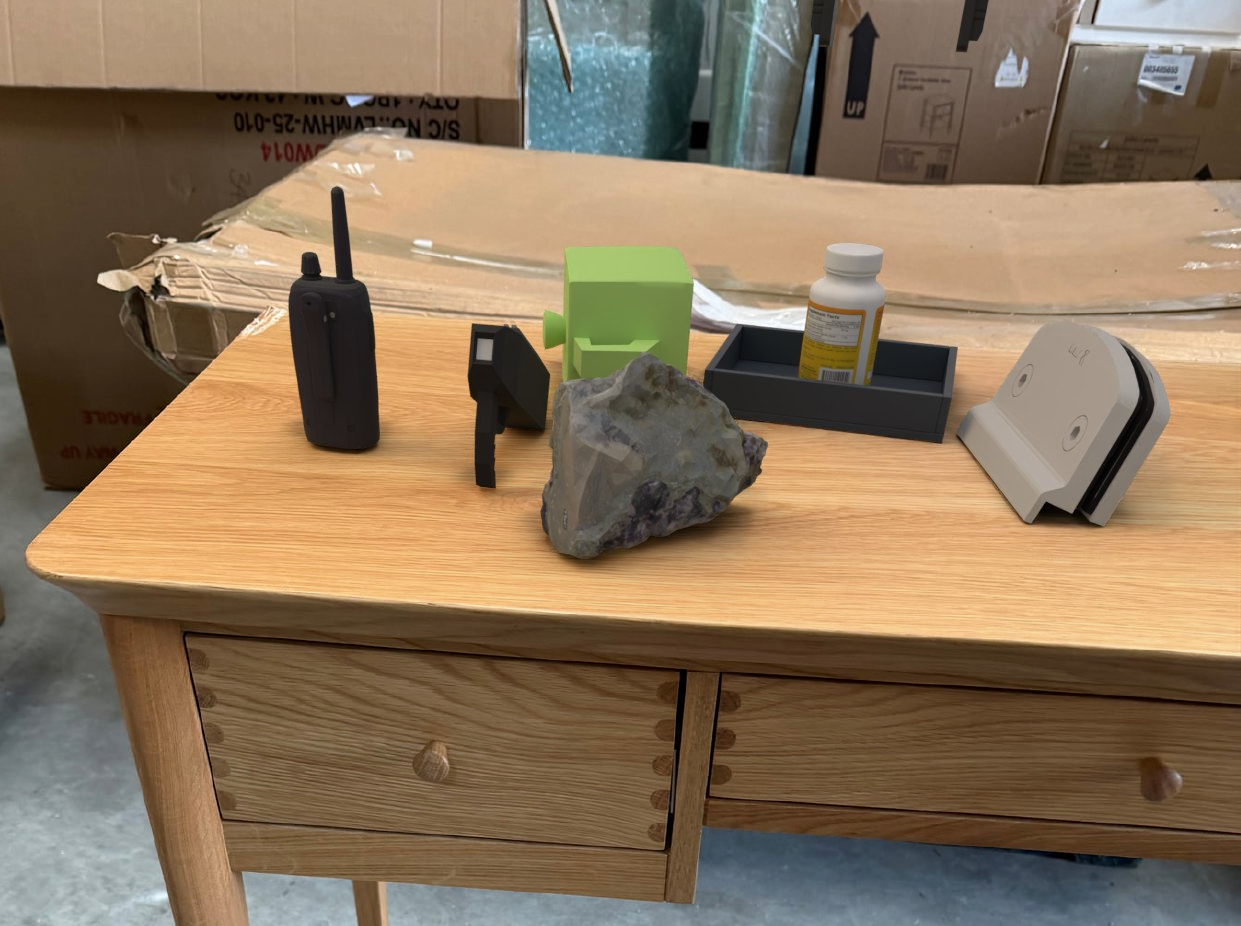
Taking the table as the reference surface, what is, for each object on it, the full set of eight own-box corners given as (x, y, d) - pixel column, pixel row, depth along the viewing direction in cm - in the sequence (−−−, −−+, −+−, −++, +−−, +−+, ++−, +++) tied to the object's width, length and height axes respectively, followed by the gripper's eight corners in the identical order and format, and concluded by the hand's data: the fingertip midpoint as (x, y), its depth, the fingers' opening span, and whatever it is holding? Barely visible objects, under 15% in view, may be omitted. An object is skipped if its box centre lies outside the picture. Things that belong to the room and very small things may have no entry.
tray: (948, 388, 92) (958, 346, 90) (941, 443, 82) (951, 397, 80) (732, 364, 95) (736, 323, 93) (700, 414, 85) (704, 369, 83)
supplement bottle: (836, 378, 91) (859, 237, 85) (883, 398, 87) (910, 252, 81) (781, 386, 89) (800, 243, 83) (826, 407, 85) (850, 259, 79)
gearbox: (540, 359, 94) (541, 226, 88) (661, 361, 95) (671, 230, 89) (544, 435, 81) (545, 284, 75) (686, 437, 81) (699, 288, 75)
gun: (543, 511, 84) (557, 363, 82) (496, 480, 69) (512, 296, 67) (504, 507, 85) (517, 360, 83) (449, 476, 69) (463, 293, 67)
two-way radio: (391, 440, 79) (372, 184, 69) (365, 463, 76) (342, 197, 66) (315, 431, 80) (286, 177, 70) (286, 452, 77) (252, 189, 67)
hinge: (954, 430, 84) (1038, 286, 78) (1010, 454, 85) (1097, 315, 79) (1025, 523, 71) (1133, 360, 65) (1090, 550, 72) (1201, 392, 66)
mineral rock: (756, 504, 72) (779, 330, 66) (771, 580, 64) (798, 389, 58) (547, 495, 72) (549, 319, 66) (535, 569, 64) (537, 377, 58)
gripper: (1081, -305, 66) (1007, 49, 76) (826, -302, 68) (788, 39, 79) (1088, -327, 60) (1008, 59, 70) (811, -323, 63) (772, 47, 73)
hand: (892, 48), depth 75 cm, fingers open, 8 cm apart
